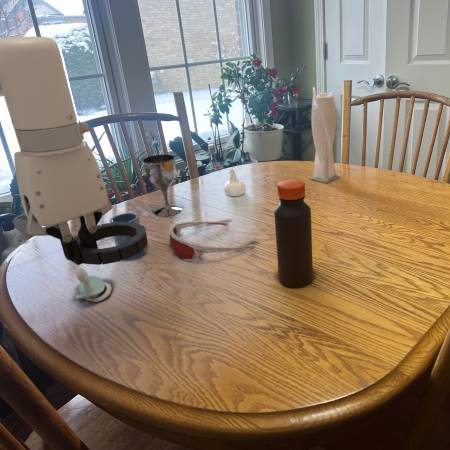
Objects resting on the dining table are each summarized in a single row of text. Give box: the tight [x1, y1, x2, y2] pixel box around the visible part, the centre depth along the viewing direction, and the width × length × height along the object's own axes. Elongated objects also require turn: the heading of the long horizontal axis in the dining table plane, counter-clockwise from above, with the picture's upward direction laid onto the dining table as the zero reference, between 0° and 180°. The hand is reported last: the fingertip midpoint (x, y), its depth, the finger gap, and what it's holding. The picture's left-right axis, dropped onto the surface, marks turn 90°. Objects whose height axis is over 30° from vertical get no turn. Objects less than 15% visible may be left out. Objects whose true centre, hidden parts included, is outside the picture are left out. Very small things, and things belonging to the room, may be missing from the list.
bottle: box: [273, 178, 314, 289], centre depth 82 cm, size 7×7×20 cm
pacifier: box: [75, 266, 113, 303], centre depth 83 cm, size 7×6×6 cm
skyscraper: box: [309, 86, 341, 184], centre depth 135 cm, size 8×8×28 cm
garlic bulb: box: [224, 167, 247, 197], centre depth 129 cm, size 6×6×8 cm
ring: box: [73, 222, 149, 266], centre depth 69 cm, size 11×11×2 cm
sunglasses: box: [168, 220, 256, 262], centre depth 101 cm, size 17×17×5 cm
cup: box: [109, 212, 147, 262], centre depth 97 cm, size 6×6×9 cm
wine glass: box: [142, 154, 182, 218], centre depth 117 cm, size 8×8×15 cm
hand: (83, 258), depth 66 cm, fingers closed on ring, 1 cm apart
